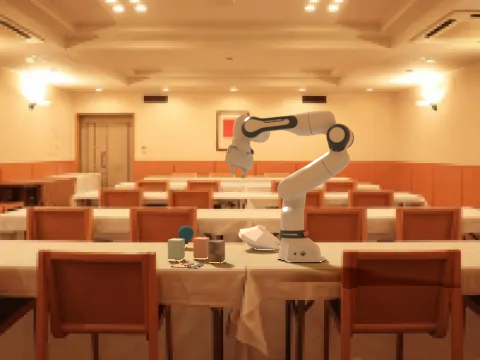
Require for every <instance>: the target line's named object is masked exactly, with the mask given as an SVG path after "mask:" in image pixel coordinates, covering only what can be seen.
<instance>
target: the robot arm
mask: <svg viewBox="0 0 480 360" xmlns="http://www.w3.org/2000/svg"><path fill="white" fill-rule="evenodd" d="M275 131H276V132H278V131H284V132H285V131H286V132H289V133H291V134H295V135H296V136H299V137H300V136H301V137H311V136H316V135H325V136H326V141H327V145H328V149H329V150H328V151H327V152H326V153H324V154H322V155H321V156H319V157H318V158H316V159H314V160H313V161H311V162H310V163H308V164H306V165H305V166H303V167H302V168H300V169H298V170H296V171H295V172H293V173H291V174H289V175H288V176H286V177H284V178H283V179H281V180H280V182H279V183H278V185H277V187H276V189H277V191H276V192H277V193H278V196H279V197H280V198H281V199H282V204H281V205H282V206H281V210H280V229H279V240H280V247H279V250H278V254H277V258H279V259H282V260H285V261H290V262H289V263H291V262H320V261H324V260H325V259H326V256H324V255H322V253H321V248H320V246H319V245H318V243H316V242H314V241H313V240H312V239H311V238H309V234H310V233H309V230H306V228H305V210H306V209H305V207H306V200H307V199H306V198H307V193H309V192H311V191H312V190H314V189H316V188H317V187H320V186H321V185H322V184H324V183H325V182H328V181H329V180H331V179H332V178H334V177H335V176H337V175H338V174H340V173H341V172H342V171H344V170H345V169H346V168H347V167H348V166H349V164H350V162H351V158H350V155H349V153H348V151H347V150H348V148H350V147H351V146H352V145H353V144H354V140H355V134H354V133H353V131H352V130H351V128H350V127H349V126H347V125H346V124H343V123H337V120H336V116H335V114H334V113H333V112H332V111H331V110H311V111H305V112H300V113H296V114H289V115H280V116H273V117H265V118H264V117H258V116H254V115H253V116H251V115H249V114H241V115H238V116H236V117H235V119H234V121H233V126H232V140H231V144H230V145H228V146H227V150H226V153H225V158H224V162H225V164H226V165H229V170H230V175H231V176H235V175H236V171H235V170H236V169H235V167H236V168H238V169H240V170H241V171H242V172H241V174H240V178H241V179H245V178H246V175H247V173H248V171H253V166H254V155H255V151H254V149H253V148H252V146H251V142H253V143H259V144H261V143H264V142H266V141H267V140H269V137H270V135H271V132H275ZM285 261H284V262H285ZM325 261H326V260H325ZM325 261H324V262H325Z"/></svg>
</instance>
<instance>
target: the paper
mask: <svg viewBox="0 0 480 360" xmlns="http://www.w3.org/2000/svg"><path fill="white" fill-rule="evenodd" d="M266 227H267V226H265V225H260V224H256V226H252V227H248V228H239V233H238V237H239V239H240V240H242V241H243V243H245V244H247V246H248V247H249V246H250V247H252V248H256V249H280V247H278V246H280V239H279V238H277V237H276V236H275V235H273V233H271V232H270V231H268V230H267V229H266ZM250 247H249V248H250Z"/></svg>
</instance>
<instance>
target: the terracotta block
mask: <svg viewBox="0 0 480 360" xmlns="http://www.w3.org/2000/svg"><path fill="white" fill-rule="evenodd" d="M192 239H193V241H192V242H193V248H192V249H193V250H192V251H193V257H194V258H207V257H208V242H209V241H211V239H210V237H207V236H206V237H205V236H203V237H201V236H198V237H193V238H192Z"/></svg>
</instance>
